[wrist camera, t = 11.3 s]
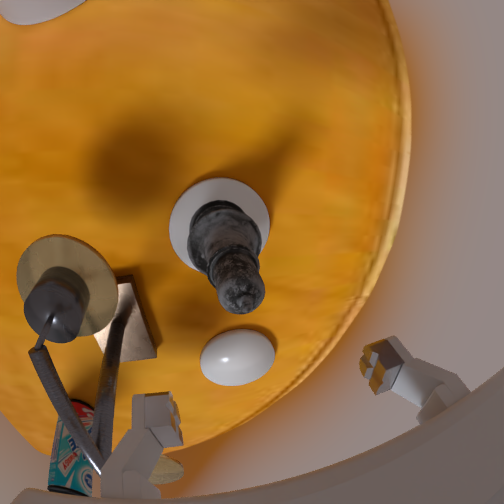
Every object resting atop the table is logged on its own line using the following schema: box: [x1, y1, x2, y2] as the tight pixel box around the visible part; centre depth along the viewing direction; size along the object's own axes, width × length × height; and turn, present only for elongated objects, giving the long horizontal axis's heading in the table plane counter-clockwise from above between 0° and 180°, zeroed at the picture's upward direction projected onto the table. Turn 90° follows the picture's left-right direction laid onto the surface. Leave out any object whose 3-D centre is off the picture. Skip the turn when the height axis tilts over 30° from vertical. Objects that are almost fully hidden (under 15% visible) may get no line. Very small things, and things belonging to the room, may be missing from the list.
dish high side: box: [200, 329, 275, 386], centre depth 35 cm, size 9×9×1 cm
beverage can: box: [48, 400, 94, 497], centre depth 28 cm, size 6×6×15 cm
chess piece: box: [187, 200, 265, 314], centre depth 21 cm, size 6×6×12 cm
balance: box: [17, 234, 184, 484], centre depth 20 cm, size 26×8×20 cm, turn 4°
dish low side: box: [169, 177, 270, 271], centre depth 27 cm, size 9×9×1 cm
